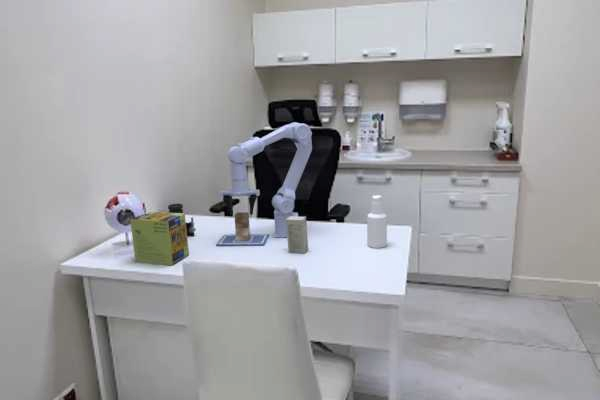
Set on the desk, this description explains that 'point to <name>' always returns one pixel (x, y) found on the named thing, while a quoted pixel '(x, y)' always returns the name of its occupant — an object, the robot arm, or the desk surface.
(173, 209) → the scope
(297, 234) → the skincare box
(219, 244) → the board
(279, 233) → the robot arm
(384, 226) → the spray bottle
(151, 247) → the protein box
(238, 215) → the walnut block
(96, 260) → the desk surface
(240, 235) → the maple block
